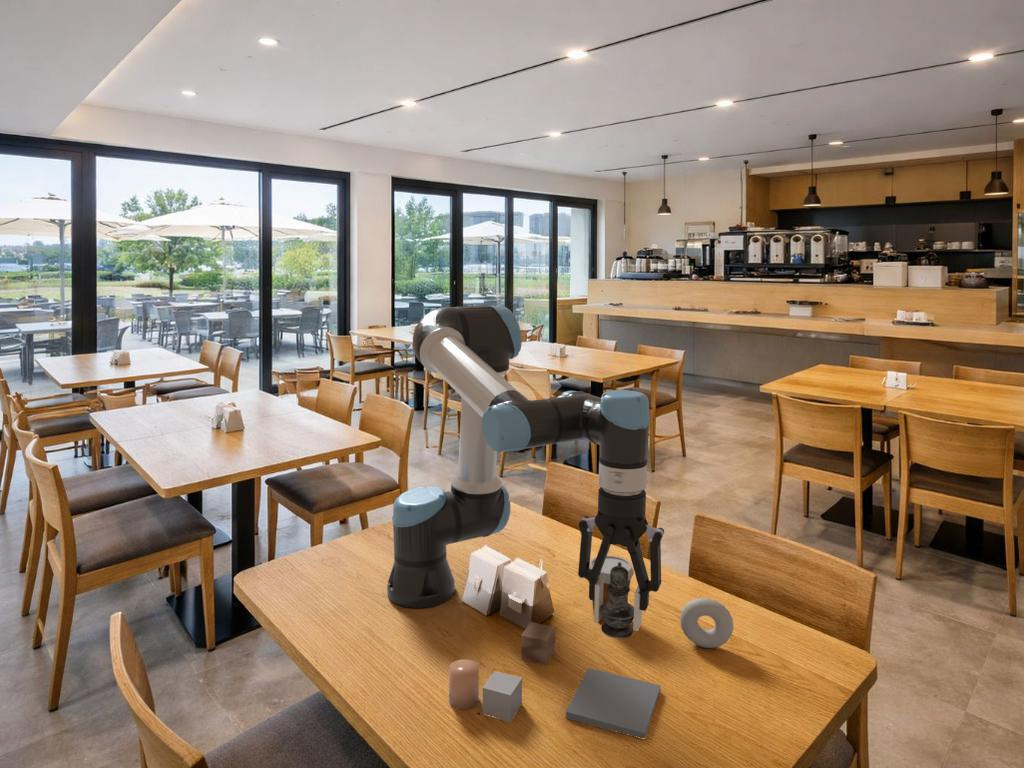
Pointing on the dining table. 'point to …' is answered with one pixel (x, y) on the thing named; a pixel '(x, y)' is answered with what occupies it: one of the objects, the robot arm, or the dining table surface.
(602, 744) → the dining table surface
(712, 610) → the donut
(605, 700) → the slate board
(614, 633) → the salt shaker
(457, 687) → the peach rounded capsule
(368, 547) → the dining table surface
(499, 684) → the grey block
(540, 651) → the walnut block
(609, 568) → the disposable coffee cup
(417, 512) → the robot arm
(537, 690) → the dining table surface
